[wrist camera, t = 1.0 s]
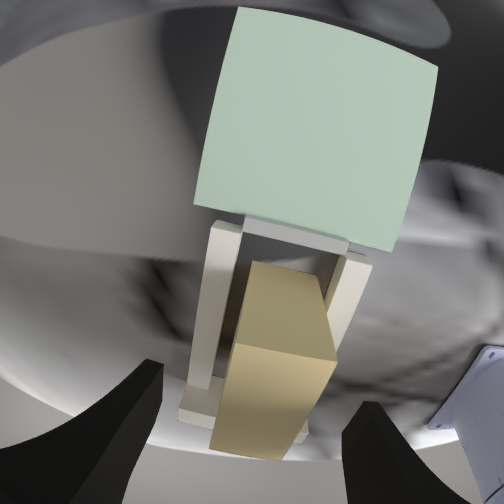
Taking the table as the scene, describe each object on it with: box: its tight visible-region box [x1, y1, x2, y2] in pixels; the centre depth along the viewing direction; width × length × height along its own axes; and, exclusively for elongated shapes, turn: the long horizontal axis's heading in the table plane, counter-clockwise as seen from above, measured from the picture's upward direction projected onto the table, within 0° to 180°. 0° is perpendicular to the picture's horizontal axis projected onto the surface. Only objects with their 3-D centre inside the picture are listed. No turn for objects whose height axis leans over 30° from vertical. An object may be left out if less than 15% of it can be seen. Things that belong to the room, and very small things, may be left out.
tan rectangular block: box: [209, 261, 338, 461], centre depth 12 cm, size 3×6×6 cm, turn 167°
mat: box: [193, 7, 438, 252], centre depth 11 cm, size 9×9×1 cm
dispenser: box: [178, 214, 373, 444], centre depth 13 cm, size 7×11×3 cm, turn 168°
